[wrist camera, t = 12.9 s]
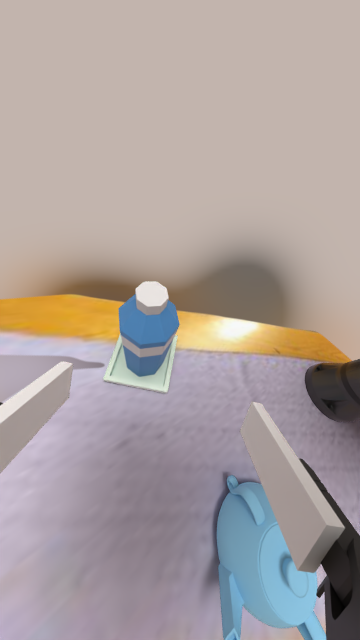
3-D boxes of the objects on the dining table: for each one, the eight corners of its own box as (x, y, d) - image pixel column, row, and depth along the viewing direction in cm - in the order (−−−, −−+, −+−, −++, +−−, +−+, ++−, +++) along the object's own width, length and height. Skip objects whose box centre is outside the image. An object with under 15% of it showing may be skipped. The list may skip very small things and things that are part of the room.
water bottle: (118, 351, 42) (98, 278, 21) (151, 334, 46) (164, 259, 25) (136, 385, 39) (135, 340, 18) (171, 364, 43) (203, 307, 22)
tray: (175, 339, 47) (177, 335, 45) (166, 393, 40) (167, 392, 38) (124, 327, 46) (124, 323, 44) (104, 381, 39) (103, 379, 36)
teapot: (303, 618, 27) (389, 719, 18) (200, 592, 27) (234, 684, 17) (292, 488, 36) (346, 512, 26) (213, 466, 35) (240, 482, 26)
